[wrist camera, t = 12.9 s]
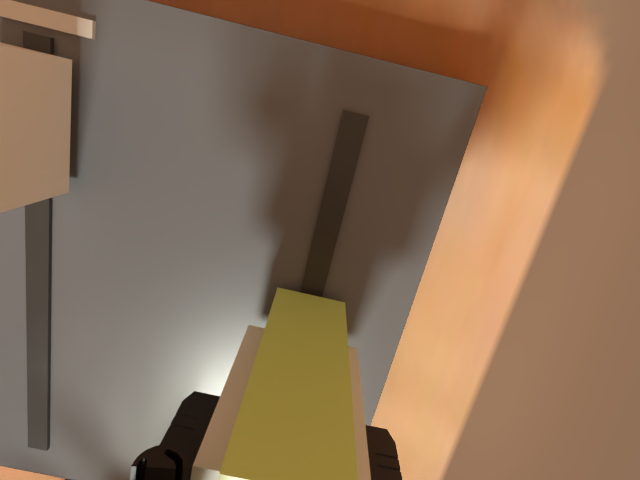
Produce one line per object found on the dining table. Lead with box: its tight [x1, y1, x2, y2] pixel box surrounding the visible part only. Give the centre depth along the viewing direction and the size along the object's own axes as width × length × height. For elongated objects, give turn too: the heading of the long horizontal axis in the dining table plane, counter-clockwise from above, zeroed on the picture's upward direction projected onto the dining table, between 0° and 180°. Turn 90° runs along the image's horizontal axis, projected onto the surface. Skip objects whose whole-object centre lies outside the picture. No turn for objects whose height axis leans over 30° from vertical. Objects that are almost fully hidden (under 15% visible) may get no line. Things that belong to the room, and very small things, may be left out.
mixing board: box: [0, 0, 487, 480], centre depth 18 cm, size 21×24×2 cm
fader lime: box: [218, 287, 358, 480], centre depth 13 cm, size 3×5×9 cm, turn 167°
